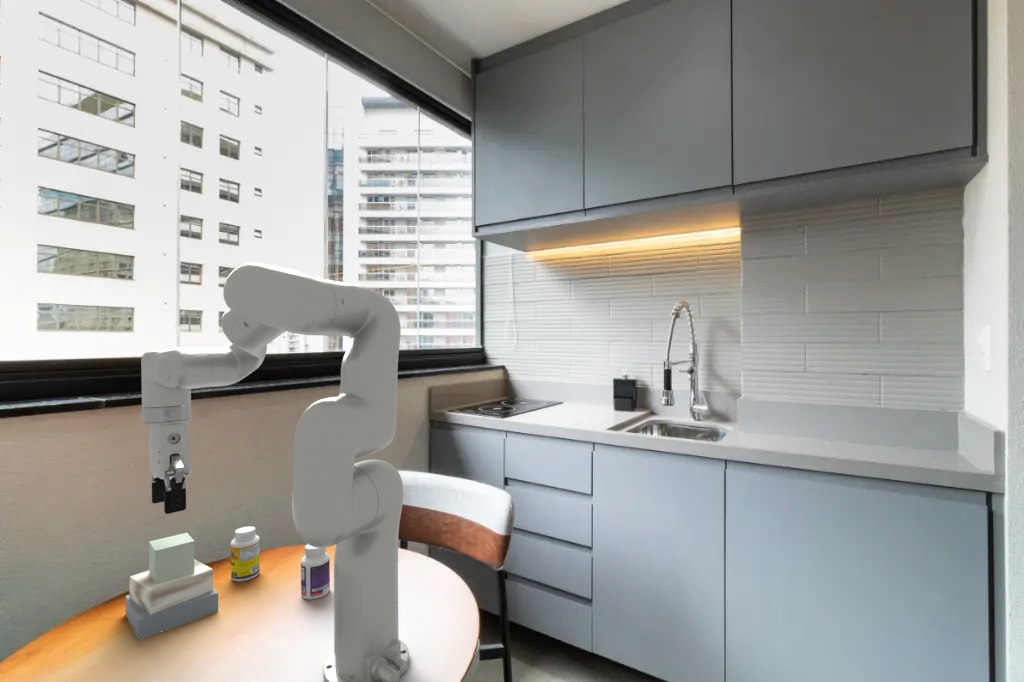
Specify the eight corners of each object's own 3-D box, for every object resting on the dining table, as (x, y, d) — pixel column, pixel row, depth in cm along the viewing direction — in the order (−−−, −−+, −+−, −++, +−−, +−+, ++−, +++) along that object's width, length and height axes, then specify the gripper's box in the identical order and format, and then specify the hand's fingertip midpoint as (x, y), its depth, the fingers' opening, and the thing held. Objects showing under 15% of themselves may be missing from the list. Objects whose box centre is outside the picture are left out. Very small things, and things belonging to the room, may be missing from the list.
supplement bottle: (231, 574, 105) (231, 527, 105) (259, 568, 107) (259, 523, 108) (229, 585, 100) (229, 536, 100) (259, 578, 103) (259, 531, 103)
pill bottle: (334, 587, 99) (334, 540, 99) (321, 601, 93) (321, 551, 93) (309, 586, 99) (309, 539, 99) (295, 599, 94) (295, 550, 94)
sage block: (194, 572, 90) (194, 540, 90) (155, 584, 85) (155, 550, 85) (186, 563, 94) (186, 532, 94) (149, 573, 89) (149, 541, 90)
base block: (218, 614, 90) (218, 592, 90) (138, 643, 81) (138, 619, 81) (199, 592, 98) (199, 573, 98) (125, 617, 89) (125, 595, 89)
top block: (213, 590, 91) (213, 569, 91) (150, 614, 83) (150, 591, 83) (189, 576, 97) (189, 556, 97) (129, 598, 88) (129, 576, 88)
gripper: (203, 416, 87) (205, 510, 86) (178, 410, 98) (180, 493, 98) (153, 421, 81) (154, 522, 81) (132, 414, 93) (134, 503, 92)
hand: (168, 506), depth 89 cm, fingers open, 9 cm apart
